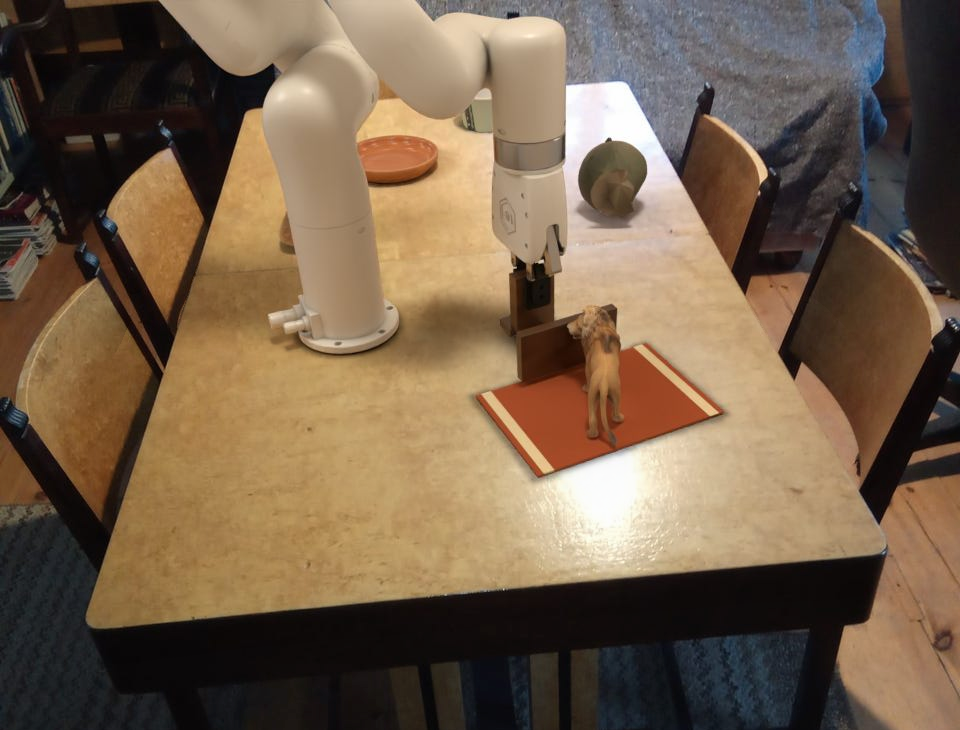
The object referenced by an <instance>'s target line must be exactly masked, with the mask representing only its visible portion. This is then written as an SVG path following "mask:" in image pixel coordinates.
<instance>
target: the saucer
mask: <svg viewBox="0 0 960 730" xmlns="http://www.w3.org/2000/svg"><path fill="white" fill-rule="evenodd" d="M357 149H358V152H359V156H360V159H361V161H362V164H363V167H364V170H365V174H366V178H367V182H371V183H378V184H392V183H393V184H394V183H401V182H407V181H411V180H414V179H417V178H418V177H421V176H423V175H424V174H425V173H426V172H427V171H429V169H430V168H432V166H433V165H434V164H435V163H436V162H437V160H438V157H439V148H438V146H437V145H436V144H435V142H433V141H432V140H429V139H427V138H423V137H420V136H414V135H406V134H405V135H403V134H393V135H381V136H375V137H371V138H367V139H363V140H360V141H358V142H357Z"/></svg>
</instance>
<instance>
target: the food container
mask: <svg viewBox="0 0 960 730" xmlns="http://www.w3.org/2000/svg"><path fill="white" fill-rule="evenodd" d="M460 115H461V119H462V124H463V126H464V127H465V128H466V129H467V130H469V131H471V132H478V133H493V120H492V98H491V92H490V90H489V89H486V88H484V89H482V90H480V91H479V92H478V94H477V95H476V97H475V99H474V100H473V102H472V103H471V105H470V106H469V107H468V108H467V109H466V110H465V111H464V112H463V113H461V114H460Z"/></svg>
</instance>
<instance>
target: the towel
mask: <svg viewBox="0 0 960 730" xmlns="http://www.w3.org/2000/svg"><path fill="white" fill-rule="evenodd" d="M585 367H586V363H583V364H579V365H576V366H573V367H570V368H567V369H564V370H561V371H557V372H554V373H551V374H548V375H545V376H542V377H538V378H535V379H532V380H529V381H526V382H521V381H519V382H516V383H512V384H509V385H505V386H502V387H499V388H496V389H493V390H489V391H486V392H483V393H480V394H476V395H475V397H476V400H477V401H478V403H480V405H481V406H482V407H483V408H484V410H485V411H486V412H487V414H488V415H489V416H490V417H491V419H492V420H493V421H494V422H495V424H496V425H497V427H498V428H499V429H500V430H501V432H502V433H503V434H504V436H505V437H506V438H507V439H508V441H509V442H510V443H511V445H512V446H513V448H514V449H516V451H517V452H518V453H519V455H520V456H521V458H522V459H523V461H525V463H526V464H527V465H528V466H529V467H530V470H532V472H533V473H534V474H535V476H536V477H537V478H541V477H544V476H547V475H550V474H552V473H556V472H558V471H561V470H565V469H568V468H570V467H573V466H576V465H579V464H582V463H585V462H588V461H590V460H593V459H596V458H600V457H601V456H605V455H608V454H610V453H611V454H612V453H613V452H617V451H619V450H622V449H626V448H628V447H631V446H633V445H636V444H640V443H642V442H643V443H644V442H645V441H648V440H651V439H654V438H657V437H659V436H663V435H666V434H668V433H671V432H674V431H677V430H680V429H683V428H686V427H689V426H692V425H695V424H697V423H700V422H703V421H706V420H709V419H712V418H714V417H717V416H721V415H723V414H724V413H725V412H724V410H723V409H722V408H721V407H720V406H719V405H717V404H716V403H715V402H714V401H713V400H712V399H711V398H710V397H708V396H707V395H706V394H705V393H704V392H703V391H701V390H700V389H699V388H698V387H697V386H696V385H695V384H693V383H692V382H691V381H690V380H689V379H687V377H685V376H684V375H683V374H682V373H681V372H680V371H679V370H678V369H676V368H675V367H674V366H673V365H672V364H671V363H670V362H669V361H668V360H666V359H665V358H664V357H663V356H661V355H660V354H659V353H658V352H657V351H656V350H655V349H654V348H652V347H651V346H650V344H648V343H646V342H645V343H641V344H637V345H635V346H631V347H629V348H626V349H623V350H622V349H621V350H620V353H619V370H618V374H619V379H620V391H621V399H620V406H619V413H621V414H623V416H624V420H623V421H622V422H615V421H614V420H613V416H612V405H611V403H610V401H609V399H608V398H607V399H606V416H607V423H608V426H609V428H610V430H611V432H612V433H613V434H614V436H615V438H616V440H617V445H613V444H612V443H611V442H609V438H608V435H607V433H606V432H605V429H604V427H603V424H602V420H601V409H600V400H599V403H598V406H597V409H596V418H597V430H598V436H597V437H595V438H589V437H588V435H587V431H588V430H589V429H590V425H589V410H588V393H587V392H584V391H583V390H582V388H583V387H584V385H585V384H587V377H586V373H585Z"/></svg>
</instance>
